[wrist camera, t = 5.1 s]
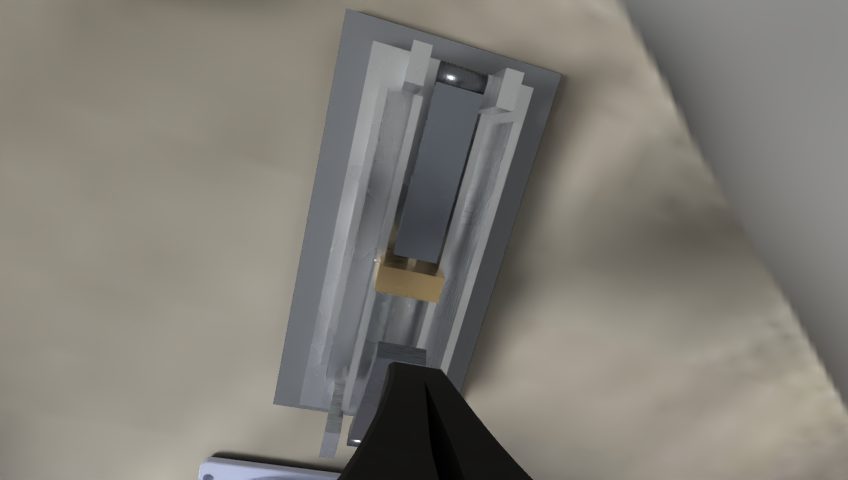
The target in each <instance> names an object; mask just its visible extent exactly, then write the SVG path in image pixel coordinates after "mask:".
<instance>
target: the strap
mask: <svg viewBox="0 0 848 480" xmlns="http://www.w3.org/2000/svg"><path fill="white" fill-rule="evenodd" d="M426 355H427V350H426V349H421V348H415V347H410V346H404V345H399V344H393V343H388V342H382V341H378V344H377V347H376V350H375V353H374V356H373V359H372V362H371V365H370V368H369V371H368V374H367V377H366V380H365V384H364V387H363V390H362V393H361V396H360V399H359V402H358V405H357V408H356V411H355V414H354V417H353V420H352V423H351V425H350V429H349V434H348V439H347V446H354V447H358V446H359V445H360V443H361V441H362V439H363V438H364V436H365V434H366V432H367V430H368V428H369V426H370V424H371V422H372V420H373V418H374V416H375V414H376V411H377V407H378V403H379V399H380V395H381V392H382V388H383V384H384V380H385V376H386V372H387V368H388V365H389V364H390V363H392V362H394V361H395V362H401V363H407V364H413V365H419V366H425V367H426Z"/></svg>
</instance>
